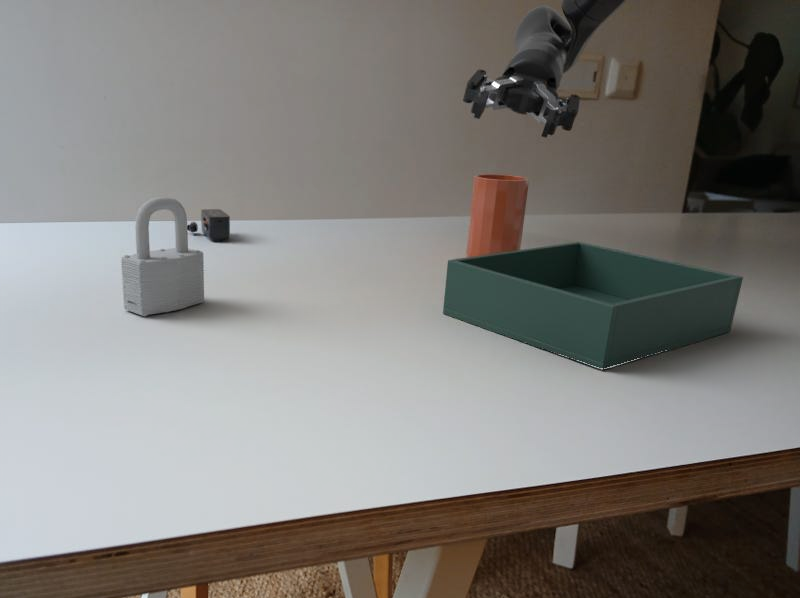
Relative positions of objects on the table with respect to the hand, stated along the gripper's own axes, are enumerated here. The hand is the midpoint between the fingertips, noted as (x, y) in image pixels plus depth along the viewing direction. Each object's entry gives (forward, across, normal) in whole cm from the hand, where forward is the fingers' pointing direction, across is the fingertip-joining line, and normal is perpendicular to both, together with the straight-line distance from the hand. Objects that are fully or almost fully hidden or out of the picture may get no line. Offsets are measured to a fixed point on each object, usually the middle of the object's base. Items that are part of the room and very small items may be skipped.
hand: (512, 120), depth 90 cm
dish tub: (+31, +13, +4) cm, 34 cm away
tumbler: (+9, +3, +14) cm, 17 cm away
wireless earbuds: (+14, -33, +21) cm, 42 cm away
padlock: (+44, -23, +8) cm, 50 cm away
